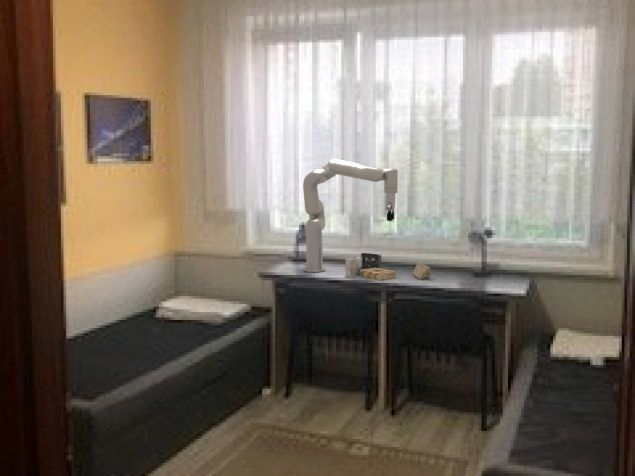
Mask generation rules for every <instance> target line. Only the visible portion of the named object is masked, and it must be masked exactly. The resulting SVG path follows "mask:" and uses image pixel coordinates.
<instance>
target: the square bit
mask: <svg viewBox="0 0 635 476" xmlns="http://www.w3.org/2000/svg"><path fill="white" fill-rule="evenodd" d="M344 260H345V263H344V264H345V268H344V269H345V277H348V278H353V277H354V278H355V277H356V274H355V258H353V257H352V258H351V257H350V258H345V259H344Z"/></svg>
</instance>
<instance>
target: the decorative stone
mask: <svg viewBox="0 0 635 476" xmlns="http://www.w3.org/2000/svg"><path fill="white" fill-rule="evenodd" d="M412 276H413V277H416V278H417V279H419V280H422V281H423V280H424V279H428V280H429V279H430V278H431V276H432V271H431V267H430V266H428V265H426V264H424V263H422V262H421V261H420V262H418V263H417V264H416V266H415V268H414V270H413V272H412Z"/></svg>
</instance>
